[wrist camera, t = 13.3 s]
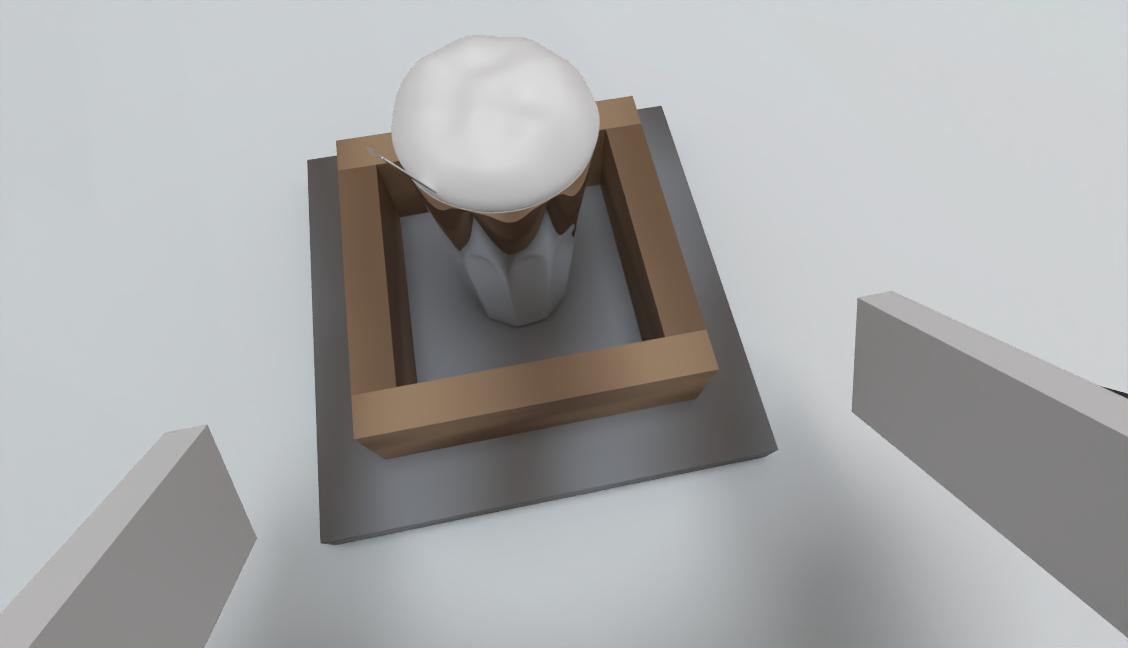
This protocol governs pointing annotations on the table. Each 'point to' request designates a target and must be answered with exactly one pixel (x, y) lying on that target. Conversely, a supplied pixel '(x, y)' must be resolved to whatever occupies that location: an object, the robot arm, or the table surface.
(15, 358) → the table surface
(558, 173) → the milkshake
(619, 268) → the socket board
